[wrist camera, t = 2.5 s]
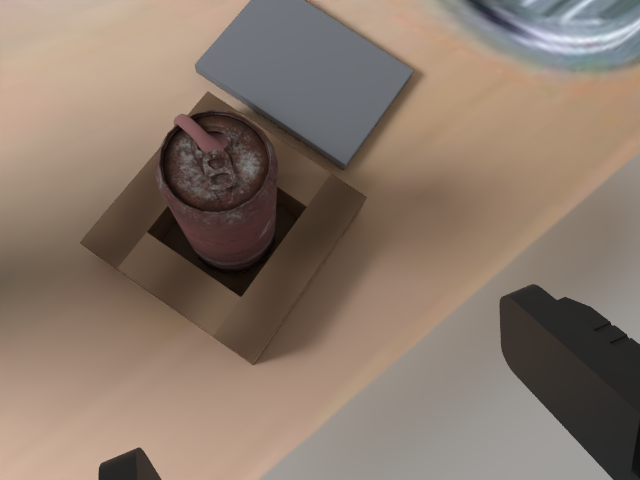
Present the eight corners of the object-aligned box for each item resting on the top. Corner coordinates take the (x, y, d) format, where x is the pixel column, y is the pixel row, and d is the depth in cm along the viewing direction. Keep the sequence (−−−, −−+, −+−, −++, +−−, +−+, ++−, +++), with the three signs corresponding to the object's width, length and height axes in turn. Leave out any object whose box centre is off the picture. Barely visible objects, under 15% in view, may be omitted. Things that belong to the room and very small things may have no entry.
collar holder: (96, 254, 39) (79, 242, 35) (212, 114, 42) (207, 91, 39) (253, 364, 38) (251, 363, 34) (358, 212, 41) (366, 197, 38)
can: (227, 176, 41) (206, 76, 28) (291, 230, 41) (303, 154, 27) (170, 235, 40) (119, 160, 26) (236, 291, 39) (219, 244, 26)
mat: (196, 71, 43) (194, 64, 42) (270, -14, 46) (270, -22, 45) (343, 169, 42) (345, 164, 41) (410, 77, 45) (413, 70, 44)
